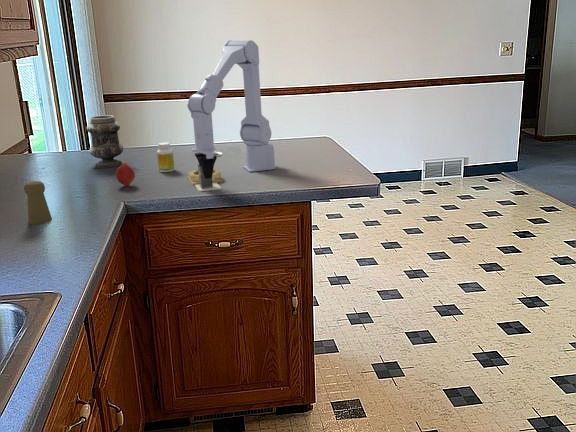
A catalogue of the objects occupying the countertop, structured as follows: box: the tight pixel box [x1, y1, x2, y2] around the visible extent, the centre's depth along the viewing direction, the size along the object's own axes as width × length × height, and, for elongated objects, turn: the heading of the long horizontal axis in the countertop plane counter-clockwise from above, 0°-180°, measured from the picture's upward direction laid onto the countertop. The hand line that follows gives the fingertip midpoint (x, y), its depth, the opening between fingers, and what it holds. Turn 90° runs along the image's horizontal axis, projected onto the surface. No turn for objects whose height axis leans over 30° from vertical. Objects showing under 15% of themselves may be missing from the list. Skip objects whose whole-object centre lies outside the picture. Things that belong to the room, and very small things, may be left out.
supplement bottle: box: [156, 141, 175, 173], centre depth 210 cm, size 5×5×10 cm
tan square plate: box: [187, 175, 224, 186], centre depth 197 cm, size 10×10×1 cm
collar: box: [188, 168, 222, 182], centre depth 197 cm, size 10×10×2 cm
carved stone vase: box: [86, 114, 124, 169], centre depth 220 cm, size 12×12×18 cm
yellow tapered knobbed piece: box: [23, 180, 53, 226], centre depth 161 cm, size 6×6×11 cm
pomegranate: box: [115, 161, 136, 187], centre depth 192 cm, size 6×6×8 cm
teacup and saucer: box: [213, 143, 223, 157], centre depth 234 cm, size 9×8×4 cm
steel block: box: [197, 163, 213, 189], centre depth 187 cm, size 4×4×7 cm
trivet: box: [194, 182, 222, 193], centre depth 188 cm, size 7×7×1 cm
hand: (207, 176), depth 187 cm, fingers open, 4 cm apart
